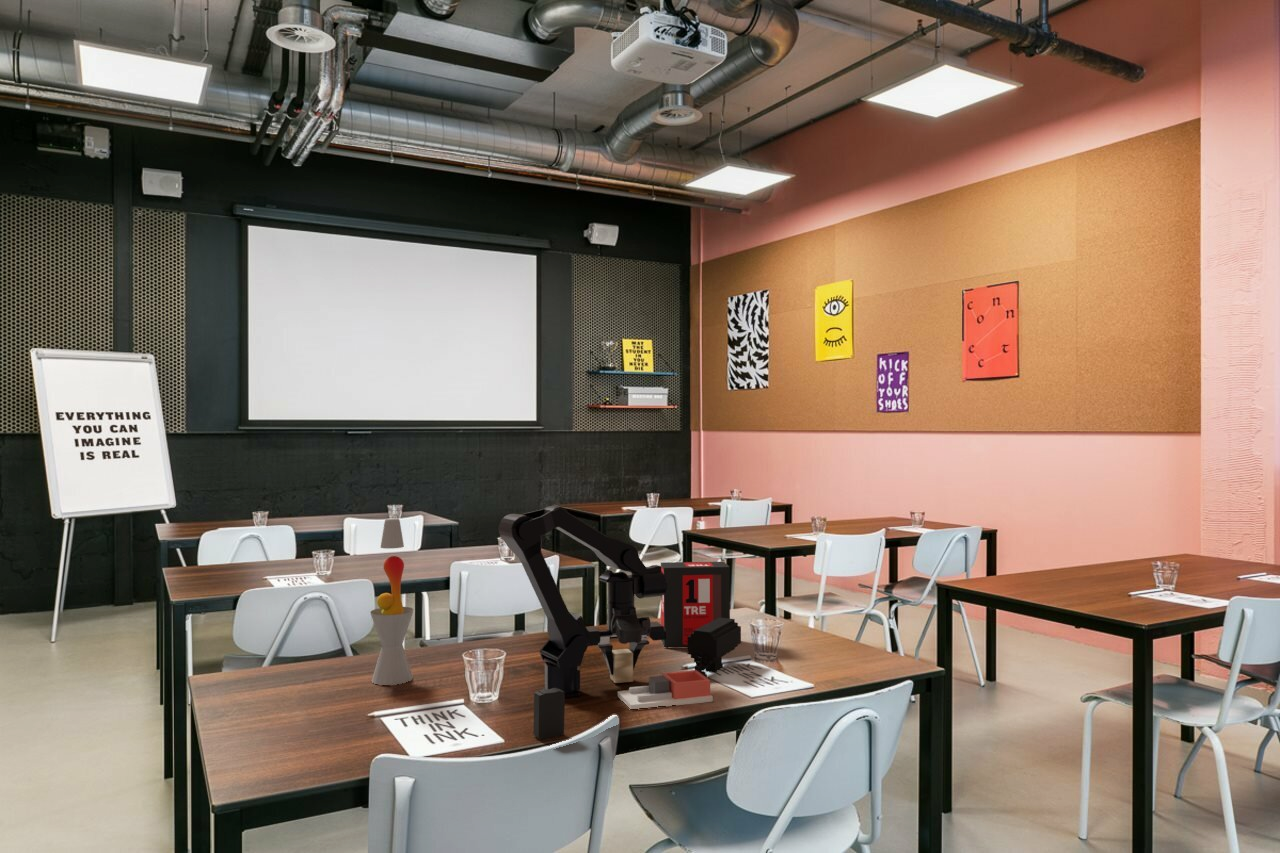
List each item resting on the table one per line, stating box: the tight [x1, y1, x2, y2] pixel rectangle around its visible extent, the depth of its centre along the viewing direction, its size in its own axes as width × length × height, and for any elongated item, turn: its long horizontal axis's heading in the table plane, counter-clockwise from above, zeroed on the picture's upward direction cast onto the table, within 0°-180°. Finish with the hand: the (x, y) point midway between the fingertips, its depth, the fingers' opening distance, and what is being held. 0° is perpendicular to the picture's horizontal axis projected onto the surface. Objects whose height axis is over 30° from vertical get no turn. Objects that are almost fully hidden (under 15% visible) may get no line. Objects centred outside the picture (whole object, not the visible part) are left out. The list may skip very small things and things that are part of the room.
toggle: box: [648, 675, 670, 694], centre depth 165 cm, size 3×4×3 cm
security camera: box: [687, 617, 742, 678], centre depth 185 cm, size 7×18×10 cm, turn 152°
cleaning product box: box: [660, 561, 731, 648], centre depth 210 cm, size 16×9×20 cm, turn 94°
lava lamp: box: [370, 517, 415, 686], centre depth 179 cm, size 9×9×35 cm
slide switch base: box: [617, 669, 714, 710], centre depth 165 cm, size 17×9×4 cm, turn 107°
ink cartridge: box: [532, 688, 566, 741], centre depth 145 cm, size 5×2×8 cm, turn 121°
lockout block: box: [609, 648, 634, 684], centre depth 177 cm, size 4×4×6 cm
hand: (621, 673), depth 177 cm, fingers closed on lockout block, 4 cm apart
